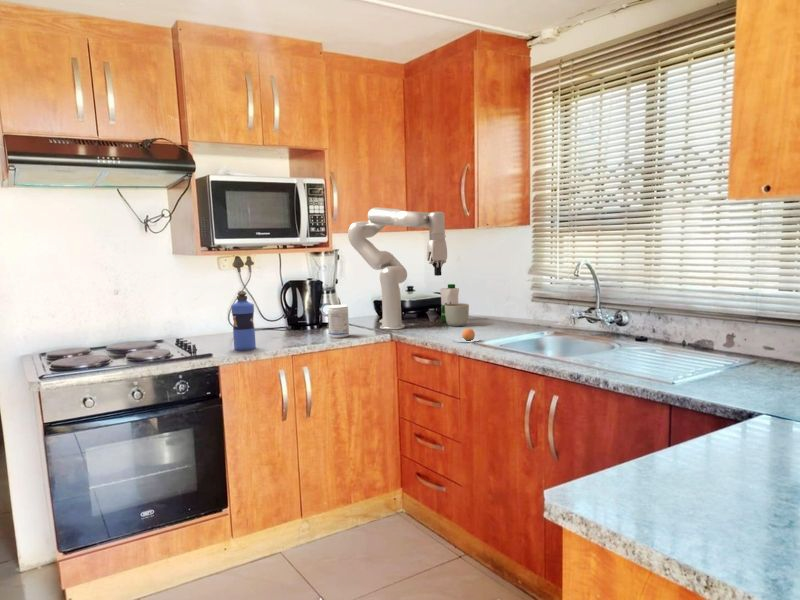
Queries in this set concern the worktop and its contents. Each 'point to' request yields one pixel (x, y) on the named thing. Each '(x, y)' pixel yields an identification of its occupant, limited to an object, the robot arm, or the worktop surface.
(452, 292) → the milk carton
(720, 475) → the worktop surface
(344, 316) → the supplement tub
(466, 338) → the ball
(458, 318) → the planter
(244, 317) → the water bottle
